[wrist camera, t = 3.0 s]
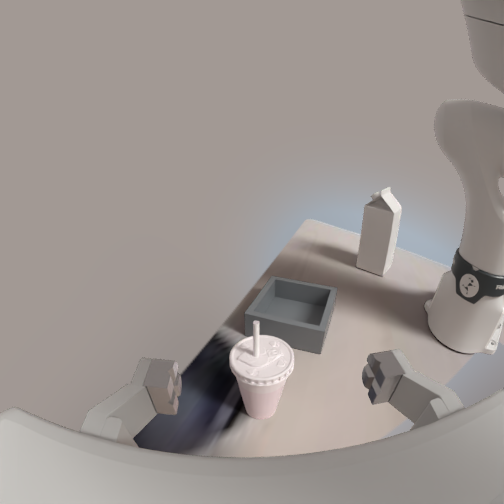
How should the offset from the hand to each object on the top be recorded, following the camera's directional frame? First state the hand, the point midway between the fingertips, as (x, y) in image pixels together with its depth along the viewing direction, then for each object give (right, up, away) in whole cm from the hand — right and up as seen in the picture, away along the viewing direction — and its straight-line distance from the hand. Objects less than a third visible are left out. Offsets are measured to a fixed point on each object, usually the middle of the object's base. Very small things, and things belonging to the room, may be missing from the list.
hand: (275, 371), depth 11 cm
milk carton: (+28, +1, +51) cm, 58 cm away
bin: (+6, -7, +34) cm, 35 cm away
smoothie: (0, -14, +19) cm, 24 cm away
